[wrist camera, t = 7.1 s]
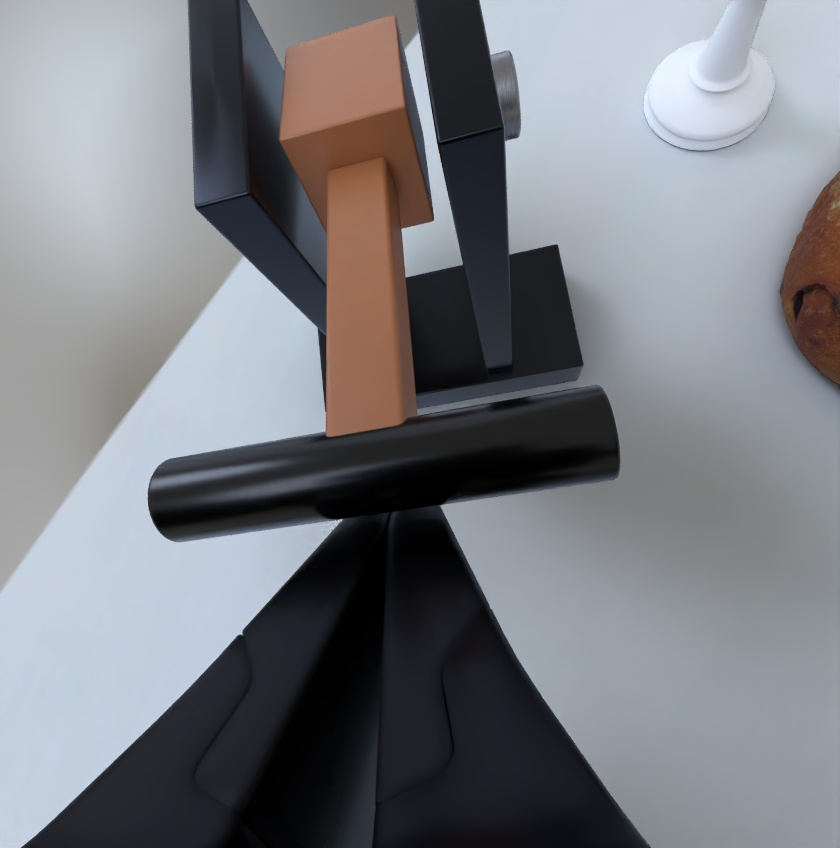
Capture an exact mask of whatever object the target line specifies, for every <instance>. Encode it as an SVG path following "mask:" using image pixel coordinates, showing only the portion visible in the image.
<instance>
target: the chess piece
mask: <svg viewBox="0 0 840 848" xmlns="http://www.w3.org/2000/svg"><path fill="white" fill-rule="evenodd" d="M766 1H767V0H731V1H730V3H729V5H728V7H727V8H726V10H725V12H724V14H723V16H722V18H721V20H720V21H719V23H718V25H717V27H716V29H715V31H714V32H713V34H712V36H711V38H710V39H704V40H699V41H696V42H692V43H690V44H687V45H685V46H683V47H681V48H679V49H677V50H676V51H674V52H673V53H671V54H670V55H669V56H668V57H666V58H665V59H664V60H663V61H662V62H661V64H660V65H659V66H658V68H657V69H656V71H655V72H654V74H653V76H652V79H651V81H650V83H649V85H648V86H647V89H646V92H645V95H644V104H643V106H644V113H645V117H646V119H647V122H648V124H649V125H650V127H651V128H652V130H653V131H654V132H655V133H656V134H657V135H658V136H659V137H660V138H662V139H663V140H665V141H666V142H668V143H670V144H672V145H674V146H677V147H680V148H684V149H689V150H699V151H704V150H714V149H719V148H723V147H727V146H730V145H732V144H734V143H737V142H739V141H740V140H742V139H744V138H745V137H747V136H748V135H749V134H751V133H752V132H753V131H754V130H755V129H756V128H757V127H758V126H759V125H760V123H761V122H762V121H763V119H764V117H765V115H766V113H767V111H768V108H769V105H770V103H771V101H772V98H773V95H774V90H775V78H774V73H773V70H772V68H771V66H770V64H769V62H768V61H767V59H766V58H765V57H764V56H763V55H762V54H761V53H760V52H759V51H758V50H756V49H755V48H753V47H751V45H752V42H753V39H754V36H755V33H756V30H757V27H758V24H759V21H760V18H761V15H762V12H763V9H764V6H765V4H766Z"/></svg>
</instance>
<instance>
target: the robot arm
mask: <svg viewBox="0 0 840 848" xmlns="http://www.w3.org/2000/svg"><path fill="white" fill-rule="evenodd" d="M242 634H243V635H238V636H237V637H236V638H235V639H234V640H233V641H232V643H231V644H230V645H229V646H228V647H227V648H226V649H225V650H224V651H223V652H222V654H221V655H220V656H219V657H218V658H217V659H216V660H215V661H214V662H213V663H212V664H211V665H210V666H209V668H208V669H207V670H206V671H205V672H204V673H203V674H202V675H201V676H200V677H199V678H198V679H197V680H196V681H195V682H194V683H193V685H192V686H191V687H190V688H189V689H188V690H187V691H186V692H185V693H184V694H183V695H182V696H181V697H180V698H179V699H178V700H177V701H176V702H175V703H174V704H173V705H172V706H171V707H170V708H169V709H168V710H167V711H166V712H165V713H164V714H163V715H162V716H161V717H160V718H159V719H158V720H157V721H155V722H154V723H153V724H152V725H151V726H150V727H149V728H148V729H147V730H146V731H145V732H144V733H143V734H142V735H141V736H140V737H139V738H138V739H137V740H136V741H135V742H134V743H133V744H132V745H131V746H130V747H129V748H128V749H126V750H125V751H124V752H123V753H122V754H121V755H120V756H119V757H118V758H117V759H116V760H115V761H114V762H113V763H112V764H111V765H110V766H109V767H108V768H107V769H106V770H105V771H104V772H103V773H101V774H100V775H99V776H98V777H97V778H96V779H95V780H94V781H93V782H92V783H91V784H90V785H89V786H88V787H87V788H86V789H85V790H84V791H83V792H82V793H81V794H80V795H79V796H78V797H77V798H75V799H74V800H73V801H72V802H71V803H70V804H69V805H68V806H67V807H66V808H65V809H64V810H63V811H62V812H61V813H60V814H59V815H58V816H57V817H56V818H55V819H54V820H52V821H51V822H50V823H49V824H48V825H47V826H46V827H45V828H44V829H43V830H41V831H40V832H39V833H38V834H37V835H36V836H35V837H34V838H32V839H31V840H30V841H29V842H27V843H26V844H25V845H24V846H22V847H21V848H651V847H650V846H649V844H648V843H647V842H646V841H645V840H644V838H643V837H642V836H641V835H640V833H639V832H638V831H637V829H636V828H635V827H634V826H633V824H632V823H631V822H630V820H629V819H628V818H627V816H626V815H625V814H624V812H623V811H622V810H621V808H620V807H619V806H618V804H617V803H616V802H615V800H614V799H613V797H612V796H611V795H610V793H609V792H608V790H607V789H606V788H605V786H604V785H603V783H602V782H601V780H600V779H599V778H598V776H597V775H596V773H595V772H594V770H593V769H592V768H591V766H590V765H589V763H588V762H587V760H586V759H585V758H584V756H583V755H582V753H581V752H580V750H579V749H578V748H577V746H576V745H575V743H574V742H573V740H572V739H571V738H570V736H569V735H568V733H567V732H566V730H565V729H564V728H563V726H562V725H561V723H560V722H559V720H558V719H557V718H556V716H555V715H554V713H553V712H552V710H551V709H550V708H549V706H548V705H547V703H546V702H545V700H544V699H543V697H542V696H541V694H540V693H539V691H538V690H537V688H536V687H535V685H534V684H533V682H532V681H531V679H530V677H529V676H528V674H527V673H526V671H525V670H524V668H523V667H522V665H521V663H520V662H519V660H518V658H517V657H516V655H515V653H514V651H513V649H512V648H511V646H510V644H509V642H508V640H507V638H506V637H505V635H504V633H503V631H502V629H501V627H500V625H499V623H498V621H497V619H496V617H495V615H494V613H493V611H492V609H490V606H489V604H488V602H487V600H486V597H485V595H484V593H483V591H482V589H481V587H480V585H479V583H478V581H477V579H476V577H475V575H474V573H473V571H472V569H471V567H470V565H469V563H468V561H467V559H466V557H465V555H464V553H463V551H462V549H461V547H460V545H459V543H458V541H457V539H456V537H455V535H454V533H453V531H452V529H451V527H450V525H449V523H448V521H447V519H446V517H445V515H444V513H443V511H442V509H441V507H440V505H437V506H430V507H423V508H416V509H409V510H402V511H395V512H388V513H381V514H374V515H367V516H360V517H353V518H346V519H343V520H342V521H341V522H340V523H339V524H338V526H337V527H336V528H335V529H334V530H333V531H332V532H331V533H330V534H329V535H328V537H327V538H326V539H325V540H324V541H323V542H322V543H321V544H320V545H319V547H318V548H317V549H316V550H315V551H314V552H313V553H312V554H311V555H310V557H309V558H308V559H307V560H306V561H305V562H304V563H303V564H302V565H301V566H300V568H299V569H298V570H297V571H296V572H295V573H294V574H293V575H292V576H291V578H290V579H289V580H288V581H287V582H286V583H285V584H284V585H283V586H282V587H281V589H280V590H279V591H278V592H277V593H276V594H275V595H274V596H273V597H272V599H271V600H270V601H269V602H268V603H267V604H266V605H265V606H264V607H263V609H262V610H261V611H260V612H259V613H258V614H257V615H256V616H255V617H254V618H253V620H252V621H251V622H250V623H249V624H248V625H247V626H246V627H245V628H244V630H243V632H242Z"/></svg>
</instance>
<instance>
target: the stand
mask: <svg viewBox="0 0 840 848" xmlns="http://www.w3.org/2000/svg"><path fill="white" fill-rule="evenodd" d="M414 3H415V9H416V16H417V22H418V28H419V34H420V40H421V46H422V52H423V59H424V65H425V71H426V77H427V83H428V89H429V96H430V102H431V108H432V114H433V120H434V126H435V132H436V139H437V144H438V149H439V154H440V158H441V163H442V168H443V172H444V177H445V182H446V186H447V191H448V196H449V200H450V205H451V210H452V214H453V219H454V224H455V228H456V233H457V238H458V242H459V247H460V252H461V256H462V261H463V265H461V266H456V267H452V268H447V269H443V270H438V271H434V272H429V273H425V274H420V275H416V276H411V277H406V289H407V301H408V312H409V324H410V335H411V347H412V358H413V369H414V381H415V392H416V404H417V408H423V407H429V406H434V405H440V404H446V403H451V402H457V401H463V400H468V399H474V398H480V397H485V396H491V395H497V394H502V393H508V392H514V391H519V390H525V389H531V388H536V387H542V386H548V385H553V384H559V383H565V382H570V381H576V380H577V379H578V377H579V375H580V372H581V370H582V367H583V360H582V355H581V350H580V346H579V341H578V336H577V332H576V327H575V322H574V318H573V313H572V309H571V304H570V299H569V295H568V290H567V285H566V281H565V276H564V271H563V267H562V262H561V257H560V253H559V248H558V245H557V244H556V245H551V246H547V247H542V248H538V249H533V250H529V251H524V252H520V253H515V254H511V255H509V236H508V208H507V181H506V153H505V141H507V140H511V139H515V138H518V137H519V135H520V130H521V113H520V100H519V90H518V82H517V75H516V70H515V64H514V60H513V57H512V54H511V52H510V51H504V52H500V53H497V54H493V55H490V51H489V46H488V41H487V36H486V31H485V26H484V21H483V16H482V11H481V6H480V1H479V0H414ZM188 20H189V51H190V52H189V53H190V82H191V110H192V111H191V112H192V140H193V141H192V142H193V171H194V199H195V200H194V202H195V207H196V209H197V210H198V211H199V212H200V213H201V214H202V215H203V216H204V217H205V218H206V219H207V220H208V221H209V222H210V223H211V224H212V225H213V226H214V227H215V228H216V229H217V230H218V231H219V232H220V233H221V234H222V235H223V236H224V237H225V238H226V239H227V240H228V241H229V242H231V243H232V245H234V246H235V247H236V248H237V249H238V250H239V251H240V252H241V253H242V254H243V255H244V256H245V257H246V258H247V259H248V260H249V261H250V262H251V263H252V264H253V265H254V266H255V267H256V268H257V269H258V270H259V271H260V272H261V273H262V274H263V275H264V276H265V277H266V278H267V279H268V280H269V281H270V282H271V283H272V284H273V285H275V286H276V287H277V288H278V289H279V290H280V291H281V292H282V293H283V294H284V295H285V296H286V297H287V298H288V299H289V300H290V301H291V302H292V303H293V304H294V305H295V306H296V307H297V308H298V309H299V310H300V311H301V312H302V313H303V314H304V315H305V316H306V317H307V318H308V319H309V320H310V321H311V322H312V323H314V324H315V325H316V326H317V327H318V336H319V347H320V358H321V369H322V380H323V391H324V402H325V411H326V343H327V234H326V232H325V230H324V228H323V226H322V224H321V222H320V220H319V218H318V216H317V214H316V212H315V210H314V208H313V206H312V204H311V202H310V200H309V198H308V196H307V194H306V192H305V190H304V188H303V187H302V185H301V183H300V181H299V179H298V177H297V175H296V173H295V171H294V169H293V167H292V165H291V163H290V161H289V159H288V157H287V155H286V153H285V151H284V149H283V147H282V145H281V143H280V140H279V137H280V124H281V110H282V96H283V83H284V70H283V68H282V66H281V64H280V63H279V61H278V59H277V57H276V55H275V53H274V51H273V49H272V47H271V45H270V43H269V41H268V39H267V37H266V36H265V34H264V32H263V30H262V28H261V26H260V24H259V22H258V20H257V18H256V16H255V15H254V13H253V11H252V9H251V7H250V5H249V3H248V1H247V0H188Z"/></svg>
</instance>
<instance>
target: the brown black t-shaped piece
mask: <svg viewBox="0 0 840 848" xmlns="http://www.w3.org/2000/svg"><path fill="white" fill-rule="evenodd" d="M279 140H280V143H281V145H282V147H283V149H284V151H285V153H286V155H287V157H288V159H289V161H290V163H291V165H292V167H293V169H294V171H295V173H296V175H297V177H298V179H299V181H300V183H301V185H302V187H303V188H304V190H305V192H306V194H307V196H308V198H309V200H310V202H311V204H312V206H313V208H314V210H315V212H316V214H317V216H318V218H319V220H320V222H321V224H322V226H323V228H324V230H325V232H326V234H327V343H326V432H321V433H316V434H310V435H304V436H298V437H293V438H287V439H281V440H275V441H270V442H264V443H258V444H252V445H247V446H241V447H235V448H229V449H224V450H218V451H212V452H206V453H201V454H195V455H189V456H184V457H178V458H172V459H168V460H166V461H165V462H163V463H162V464H160V465H159V466H158V467H157V469H156V470H155V471H154V473H153V475H152V477H151V480H150V483H149V488H148V507H149V512H150V516H151V518H152V521H153V523H154V525H155V527H156V528H157V530H158V531H159V532H160V533H161V534H162V535H163V536H164V537H165V538H167V539H169V540H171V541H174V542H185V541H192V540H199V539H206V538H213V537H220V536H227V535H234V534H241V533H248V532H255V531H262V530H269V529H276V528H283V527H290V526H297V525H304V524H311V523H318V522H325V521H332V520H339V519H346V518H353V517H360V516H367V515H374V514H381V513H388V512H395V511H402V510H409V509H416V508H423V507H430V506H437V505H444V504H450V503H457V502H464V501H471V500H478V499H485V498H492V497H499V496H506V495H513V494H520V493H527V492H534V491H541V490H548V489H555V488H562V487H569V486H576V485H583V484H590V483H597V482H604V481H611V480H614V479H616V478H617V477H618V475H619V470H620V447H619V439H618V433H617V427H616V423H615V418H614V415H613V411H612V408H611V405H610V402H609V399H608V397H607V395H606V393H605V392H604V390H603V388H602V387H601V386H599V385H591V386H586V387H580V388H574V389H568V390H563V391H557V392H551V393H545V394H540V395H534V396H528V397H522V398H517V399H511V400H505V401H499V402H494V403H488V404H482V405H476V406H471V407H465V408H459V409H453V410H448V411H442V412H436V413H430V414H425V415H419V416H418V415H417V404H416V392H415V381H414V369H413V358H412V347H411V335H410V324H409V312H408V301H407V289H406V278H405V266H404V255H403V244H402V232H401V229H402V228H406V227H411V226H415V225H419V224H423V223H427V222H432V221H433V220H434V214H433V207H432V199H431V191H430V184H429V176H428V168H427V160H426V153H425V145H424V137H423V131H422V127H421V122H420V118H419V114H418V109H417V105H416V100H415V96H414V92H413V87H412V83H411V78H410V74H409V70H408V65H407V61H406V56H405V52H404V48H403V43H402V39H401V35H400V30H399V25H398V21H397V17H396V15H391V16H388V17H385V18H382V19H378V20H375V21H372V22H369V23H366V24H362V25H359V26H356V27H353V28H350V29H346V30H343V31H340V32H336V33H334V34H330V35H327V36H324V37H321V38H317V39H314V40H311V41H307V42H304V43H301V44H298V45H295V46H291V47H288V48H287V49H286V56H285V70H284V83H283V96H282V110H281V124H280V137H279Z"/></svg>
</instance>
